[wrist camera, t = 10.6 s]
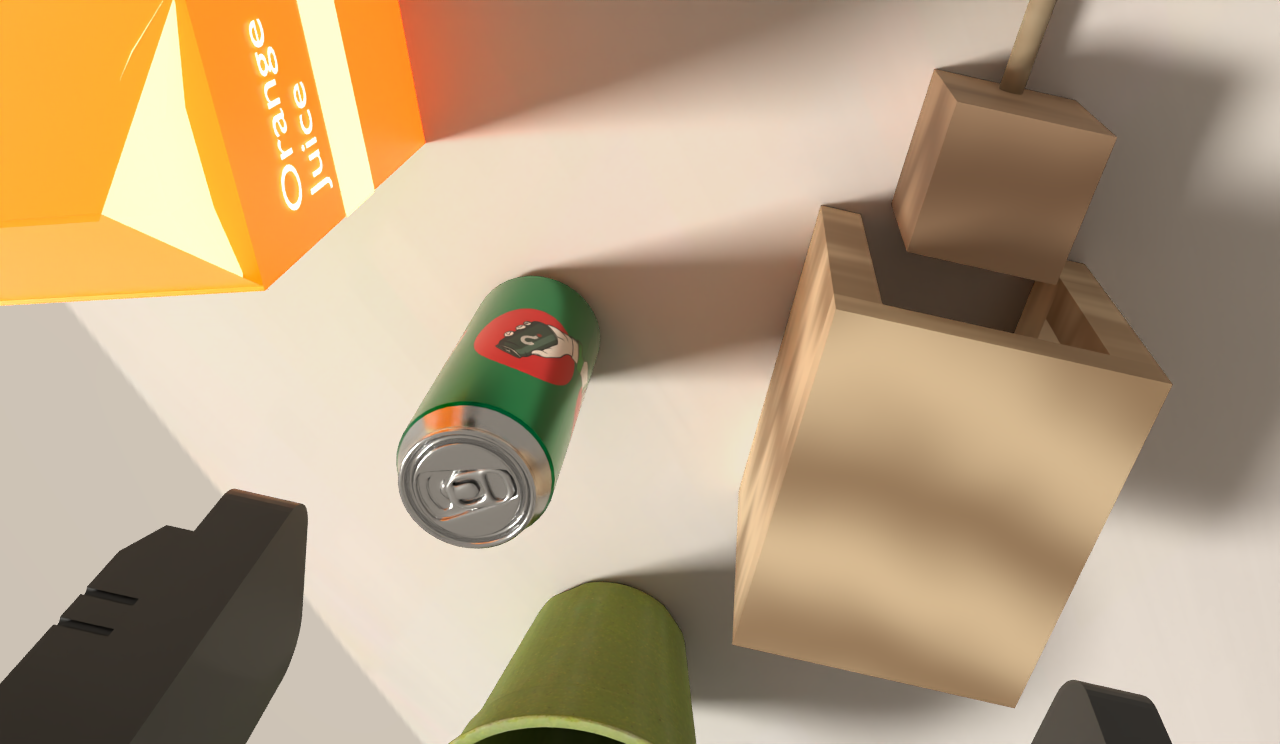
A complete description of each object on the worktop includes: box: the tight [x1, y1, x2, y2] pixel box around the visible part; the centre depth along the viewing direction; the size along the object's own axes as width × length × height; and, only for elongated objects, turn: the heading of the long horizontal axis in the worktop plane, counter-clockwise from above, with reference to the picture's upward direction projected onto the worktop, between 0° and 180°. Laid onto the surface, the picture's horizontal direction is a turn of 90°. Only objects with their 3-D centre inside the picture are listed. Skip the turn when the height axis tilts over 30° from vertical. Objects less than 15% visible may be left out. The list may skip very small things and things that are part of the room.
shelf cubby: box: [732, 205, 1173, 708], centre depth 38 cm, size 13×10×10 cm
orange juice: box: [0, 0, 425, 306], centre depth 30 cm, size 8×9×20 cm
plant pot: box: [449, 582, 696, 744], centre depth 45 cm, size 12×12×11 cm
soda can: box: [396, 276, 600, 548], centre depth 38 cm, size 5×5×12 cm
